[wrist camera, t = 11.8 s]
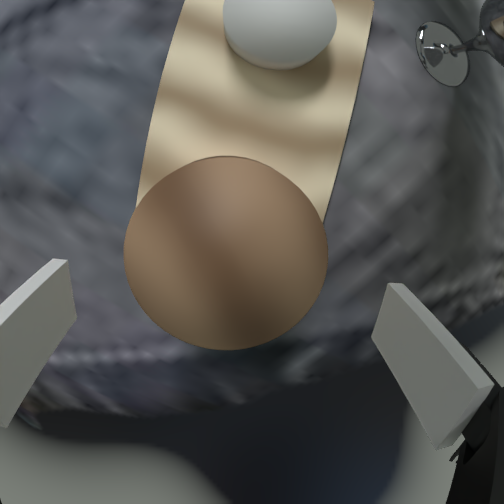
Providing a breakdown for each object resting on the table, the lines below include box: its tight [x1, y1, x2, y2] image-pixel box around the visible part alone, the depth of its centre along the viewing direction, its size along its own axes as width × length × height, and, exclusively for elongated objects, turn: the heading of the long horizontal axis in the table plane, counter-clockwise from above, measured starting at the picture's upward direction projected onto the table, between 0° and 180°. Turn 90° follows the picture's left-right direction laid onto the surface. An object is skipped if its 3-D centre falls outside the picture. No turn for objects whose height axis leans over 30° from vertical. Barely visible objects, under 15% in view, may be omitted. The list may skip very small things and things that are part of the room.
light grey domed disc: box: [223, 0, 337, 71], centre depth 18 cm, size 8×8×3 cm
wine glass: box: [416, 0, 504, 86], centre depth 15 cm, size 8×8×15 cm
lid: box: [124, 156, 328, 350], centre depth 18 cm, size 11×11×3 cm
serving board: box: [136, 0, 374, 224], centre depth 23 cm, size 28×15×2 cm, turn 167°
